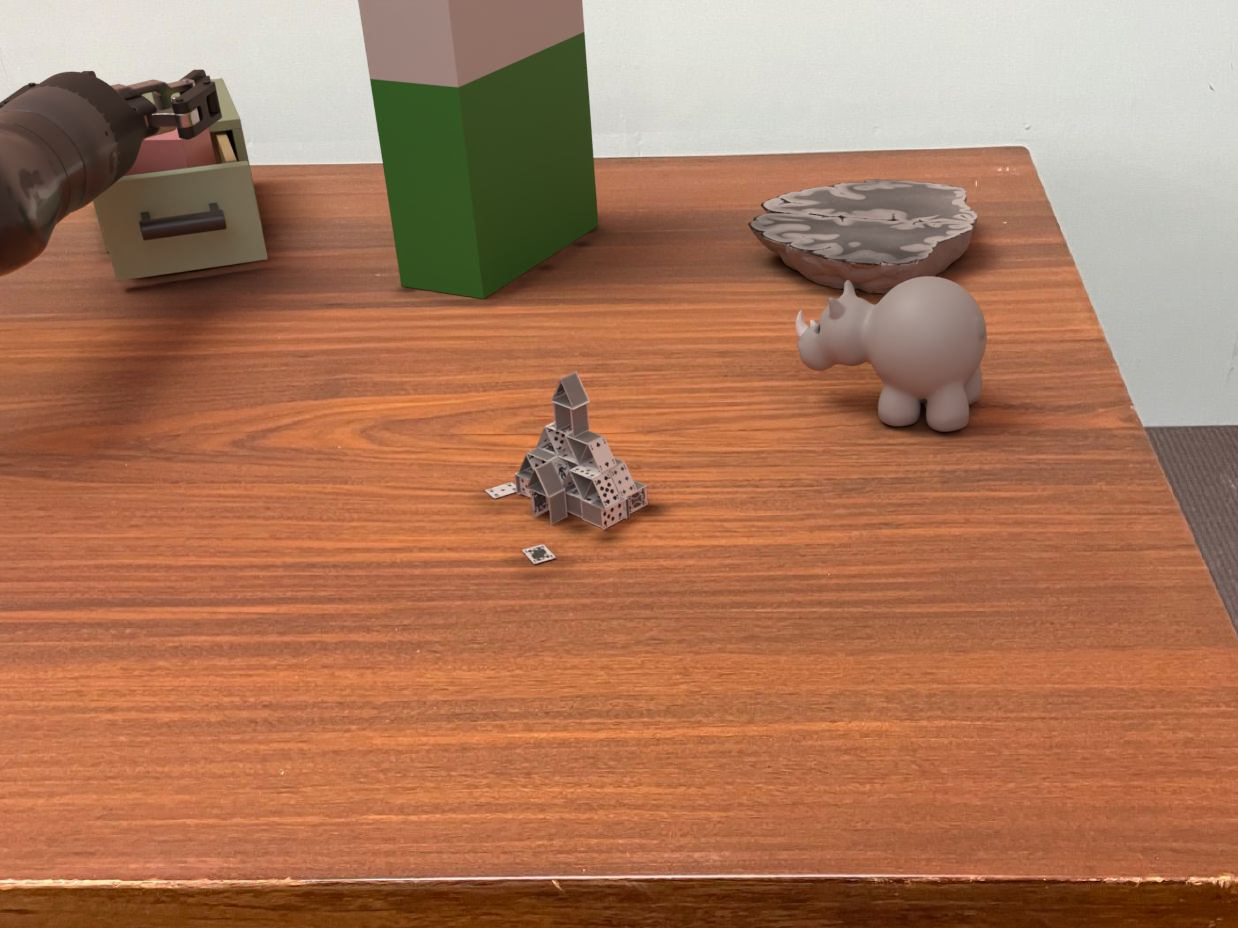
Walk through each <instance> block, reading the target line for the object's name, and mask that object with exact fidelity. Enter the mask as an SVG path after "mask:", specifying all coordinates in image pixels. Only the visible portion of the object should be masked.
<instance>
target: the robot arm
mask: <svg viewBox="0 0 1238 928" xmlns="http://www.w3.org/2000/svg"><path fill="white" fill-rule="evenodd" d="M211 79H212V78H211V76H210V75H207V73H206V71H205V70H204V69H193V70H191V71H189V72H188V73H187V74H185V75H184V76H183V77H182V78H180V79H179V80H177V81H173V82H166V81H162V80H157V79H149V80H145V81H141V82H136V83H132V84H128V85H124V84H121V83H116V84H112V85H111V84H109V83H107V82H106V81H104V80H103V79H101V78H99V77H97V74H96V72H95V71H94V70H83V71H63V72H59V73H55V74H53V75H51V76H49V77H48V78H46V79H44V80H42V81H41V82H39V83H36V82H29V83H27V84H24V85H23V86H22V87H20V88H19V89H17V90H15V92H13V93H12V94H10V95H9V96H7V97H6V98H4V99H3V100H1V101H0V278H2V277H4V276H7V275H10V274H12V273H15V272H16V271H18V270H20V269H23V268H24V267H26V266H27V265H29V264H30V263H32V262H33V261H34V260H36V259H38V257H39V256H41V254H43V252H44V251H46V249H47V247H48V244H49V242H50V239H51V238H52V234H53V232H54V230H55V228H56V226H57V225H58V224H59V223H60V222H62V221H63V220H64V219H66V218H67V217H69V215H70V214H72V213H74V212H77V211H79V210H81V209H83V208H85V207H86V206H88V205H89V204H91V203H93V200H94V199H96V198H97V197H98V196H99V195H101V194H102V193H103V192H104V191H106V190H107V189H108V188H109V187H110V186H112V185H113V184H114V183H115V182H117V181H118V180H119V179H120V178H122V177H123V176H124V175H125V174H126V173H127V172H128V171H129V170H130V169H131V168H132V166H133V165H134V163H135V161H136V159H137V156H138V153H139V150H140V146H141V143H142V142H143V141H144V140H145V139H146V138H149V137H153V136H156V135H160V134H164V133H168V132H172V131H174V130H175V129H176V128H177V131H178V135H179V138H181V139H185V140H189V139H192V138H194V137H196V136H197V135H199V134H200V133H201V132H203V131H204V130H206V129H207V128H208V127H210V126H211V125H213V124H214V123H215V122H217V121H218V120H220V119H221V118H222V114H221V109H220V104H219V99H218V94H217V90H216V85H215V82H211ZM150 92H151V93H152V96H153V100H154V104H153V103H152V102H151V101H149V100H148V99H147V98H145V97H144V96H143V95H142V94H146V93H150ZM175 93H179V94H180V96H179V97H177V96H175V97H172V98H171V96H172V94H175ZM171 99H172V101H171Z"/></svg>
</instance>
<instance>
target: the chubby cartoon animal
mask: <svg viewBox="0 0 1238 928" xmlns="http://www.w3.org/2000/svg"><path fill="white" fill-rule="evenodd" d="M827 302H828V305H826V307H825V308H824V309H823V311H822V312H821V314H820V317H819V320H818V321H817V322H816V321H815V320H814V319H810V320H809V325H808V324H807V322H806V321H805V319H804V316H803V310H802V309H800V310H799V311H798V314H797V316H796V318H795V322H794V327H795V333H796V336H797V337H798V339H797V341H798V342H797V345H796V348H797V350H798V353H799V354H798V355H799V358H800V360H801V362H802V363H803V365H804V366H806V367H807V368H809V369H811V370H812V371H817V372H823V371H827V370H829V369H832V368H833V367H834V366H836V365H841V366H846V367H847V366H848V367H856V366H860V365H862V364H864V363H867V364H870V365H871V366H872V368H873V370H874V372H875V373H876V375H877V376H878V377H879V379H880V380H881V382H882V389H881V392H880V395H879V399H878V403H877V416H878V418H879V420H880V421H881V422H882V423H883V424H885V425H888V426H890V427H891V426H892V427H906V426H910V425H914V424H915V423H917V422H918V421H919V418H920V415H921V404H923V406H924V408H925V409H926V410H925V419H926V423H927V425H928V426H929V428H931V429H932V430H934V431H937V432H942V433H943V432H947V433H948V432H954V431H958V430H961V429H963V428H965V427H966V426H968V423H969V421H970V405H972V404H974V403H976V402H978V400H979V399H980V398H981V395H982V392H983V375H982V370H981V366H980V365H981V362H982V361H983V358H984V355H985V352H986V349H987V342H988V332H987V331H988V330H987V324H986V323H987V322H986V318H985V316H984V313H983V310H982V309H981V307H980V305H979V303H978V302H977V300H976V299H975V298H974V296H973V295H972V294H971V293H970V292H969V291H968V290H966V289H965V288H964V287H963V286H961V285H960V284H958V283H957V282H955V281H953V280H949V279H947V278H945V277H944V278H943V277H941V276H940V277H939V276H935V277H933V276H924V277H917V278H913V279H909V280H907V281H904V282H902V283H900V284H898V285H897V286H895V287H894V288H893V289H891V290H890V291H889V292H888V293H885V294H884V295H883V297H882V298H881V299H880V301H878V302H877V303H876V304H874V303H871V302H869V301H868V300H866V299H865V298H862V297H860V296H857V294H856V289H854V287H853V285H852V283H851V282H850V281H849V280H846V282H845V283H844V289H843V293H842V294H841V295H840V296H839V297H837V298H835V297H832V296H830V297H829V298H828V299H827Z"/></svg>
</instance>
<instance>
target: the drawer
mask: <svg viewBox="0 0 1238 928" xmlns="http://www.w3.org/2000/svg"><path fill="white" fill-rule="evenodd" d="M209 133H210V138H211V142H212V147H213V152H214V156H215V161H216V165H208V166H200V167H192V168H185V169H177V170H169V171H161V172H153V173H145V174H138V175H130V176H123V177H122V178H120V179H119V180H118V181H117V182H115V183H114V184H113V185H112V186H110V187H109V188H108V189H107V190H106V191H104V192H103V193H102V194H101V195H99V196H98V197H97V198H96V199H95V201H96V205H97V209H98V213H99V216H100V220H101V224H102V228H103V232H104V235H105V239H106V243H107V247H108V250H109V252H108V254H109V258H110V261H111V266H112V269H113V274H114V277H115V280H116V282H121V281H127V280H128V281H129V280H135V279H136V280H137V279H141V278H149V277H154V276H155V277H156V276H162V275H163V276H164V275H169V274H175V273H183V272H190V271H197V270H204V269H211V268H218V267H224V266H231V265H238V264H245V263H252V262H258V261H267V260H268V259H269V257H268V251H267V247H266V242H265V238H264V232H263V230H262V228H263V226H262V227H261V224H262V221H261V222H260V219H261V216H260V217H259V214H260V211H259V212H258V209H259V206H258V207H257V204H258V201H257V202H256V199H257V196H256V197H255V194H256V191H255V192H254V189H255V187H254V188H253V184H254V182H253V183H252V179H253V177H252V178H251V174H252V172H251V173H250V169H251V167H250V168H249V164H250V163H249V164H248V162H247V161H239V162H237V160H236V157H235V155H234V152H233V150H232V147H231V145H230V142H229V140H228V137H227V134H226V132H225V131H217V132H209Z"/></svg>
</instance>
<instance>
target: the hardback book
mask: <svg viewBox="0 0 1238 928" xmlns="http://www.w3.org/2000/svg"><path fill="white" fill-rule="evenodd" d="M357 3H358V9H359V17H360V22H361V29H362V36H363V42H364V49H365V56H366V62H367V69H368V75H369V82H370V89H371V95H372V102H373V108H374V116H375V121H376V122H375V123H376V128H377V134H378V140H379V147H380V155H381V160H382V167H383V175H384V181H385V182H384V183H385V187H386V194H387V200H388V207H389V215H390V220H391V228H392V234H393V241H394V247H395V253H396V260H397V266H398V272H399V280H400V286H401V287H404V288H412V289H418V290H424V291H430V292H438V293H443V294H450V295H455V296H456V295H458V296H463V297H469V298H476V299H481V300H484V299H486V298H487V297H489V296H490V295H493V294H494V293H495V292H497V291H498V290H500V289H501V288H503V287H504V286H506V285H508V284H509V283H511V282H513V281H514V280H516V279H517V278H519V277H520V276H522V275H523V274H525V273H527V272H528V271H531V269H533V268H534V267H537V266H538V265H539V264H541V263H543V262H544V261H545V260H547V259H548V258H550V257H551V256H553V255H555V254H556V253H557V252H559V251H561V250H562V249H564V248H567V247H568V246H569V245H570V244H572V243H574V242H576V240H578V239H580V238H582V237H583V236H585V235H586V234H587V233H589V232H591V231H592V230H594V229H595V228H597V227H598V226H599V215H598V199H597V186H596V173H595V158H594V145H593V144H594V143H593V130H592V129H593V128H592V117H591V115H592V114H591V103H590V101H591V100H590V90H589V89H590V88H589V87H590V86H589V74H588V61H587V48H586V47H587V46H586V33H585V18H584V7H583V5H584V4H583V0H357Z"/></svg>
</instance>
